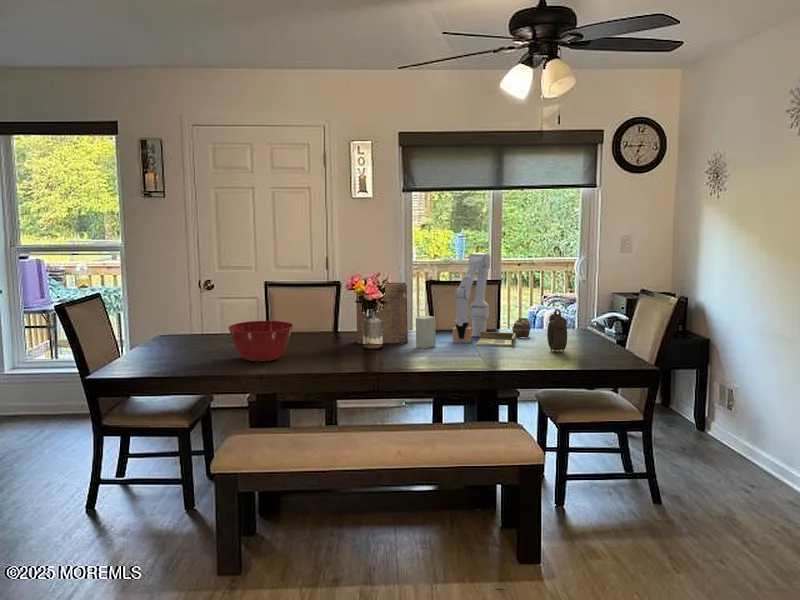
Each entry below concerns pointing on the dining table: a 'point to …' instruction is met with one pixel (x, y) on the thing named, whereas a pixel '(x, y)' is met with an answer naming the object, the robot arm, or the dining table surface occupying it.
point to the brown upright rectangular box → (389, 315)
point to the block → (466, 336)
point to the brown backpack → (557, 332)
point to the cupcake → (521, 327)
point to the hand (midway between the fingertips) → (462, 337)
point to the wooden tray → (496, 339)
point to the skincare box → (425, 332)
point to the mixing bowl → (261, 339)
